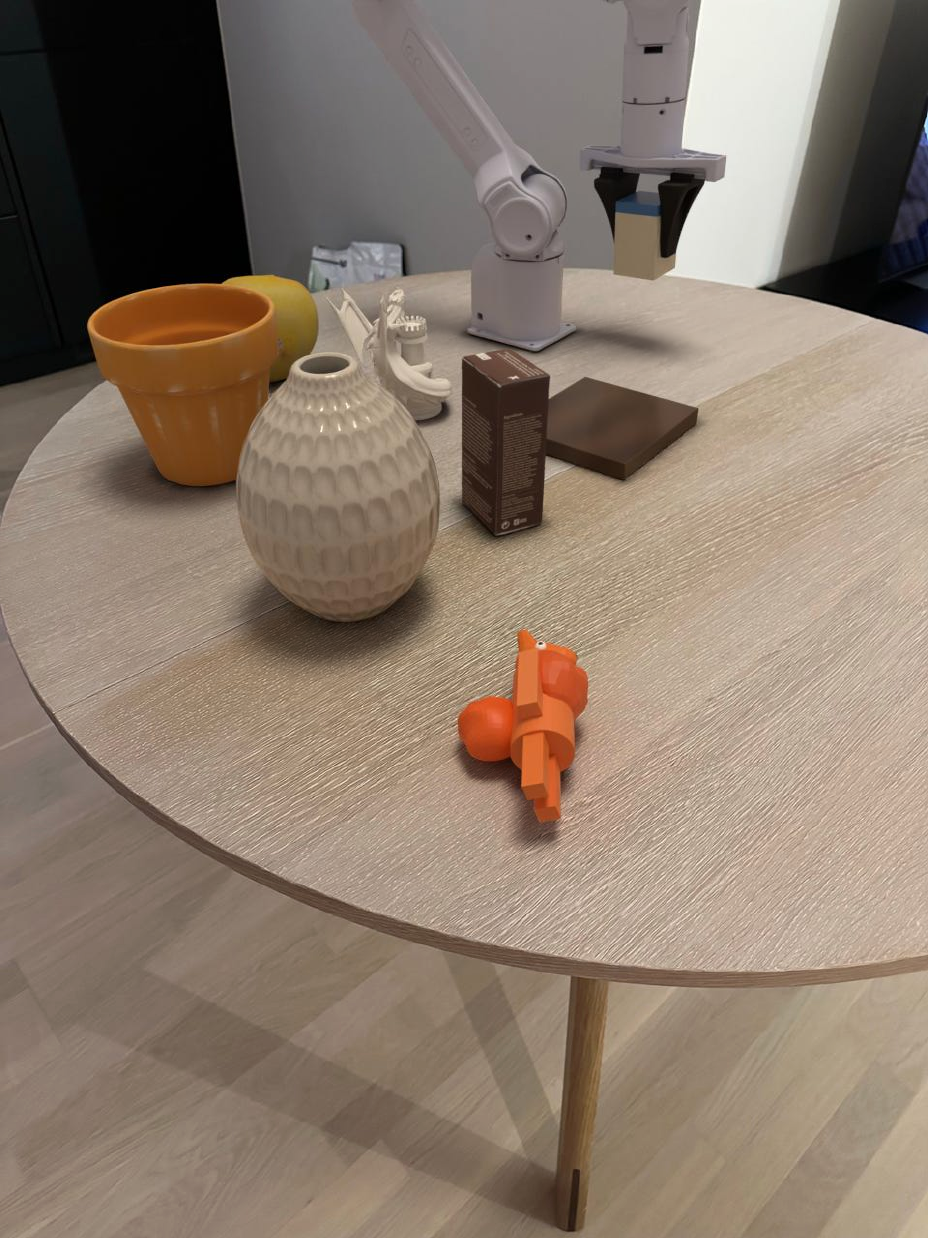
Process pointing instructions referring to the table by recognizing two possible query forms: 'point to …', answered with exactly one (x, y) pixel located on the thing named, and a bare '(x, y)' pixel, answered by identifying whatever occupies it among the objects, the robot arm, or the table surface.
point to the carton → (639, 237)
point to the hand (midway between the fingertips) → (645, 251)
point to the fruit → (286, 318)
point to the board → (612, 426)
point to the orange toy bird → (532, 721)
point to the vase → (337, 491)
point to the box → (504, 439)
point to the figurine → (396, 353)
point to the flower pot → (190, 372)
